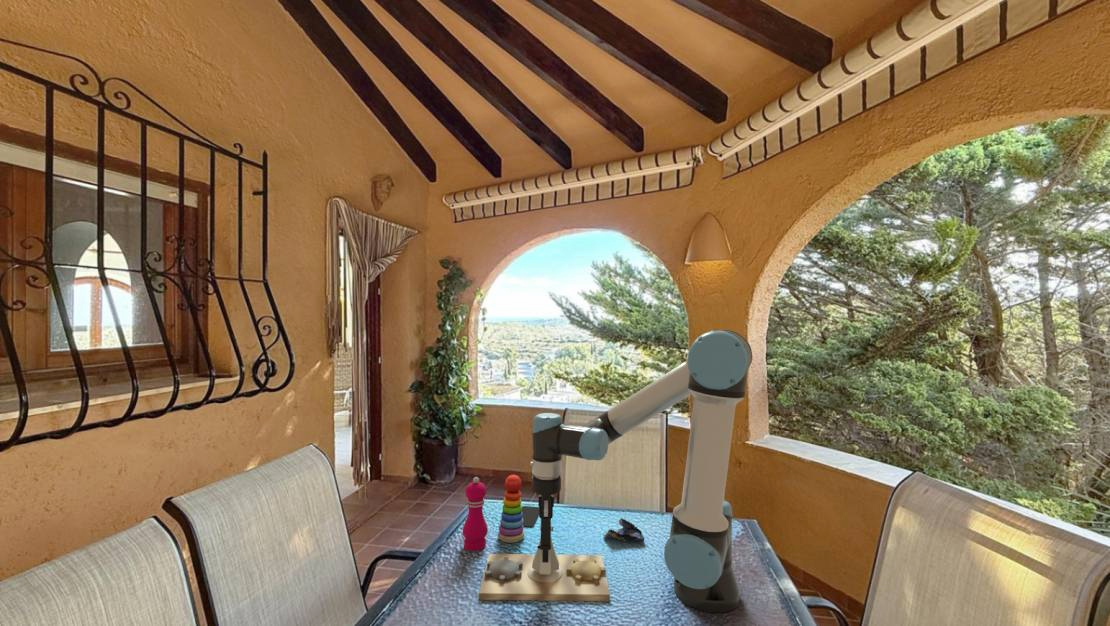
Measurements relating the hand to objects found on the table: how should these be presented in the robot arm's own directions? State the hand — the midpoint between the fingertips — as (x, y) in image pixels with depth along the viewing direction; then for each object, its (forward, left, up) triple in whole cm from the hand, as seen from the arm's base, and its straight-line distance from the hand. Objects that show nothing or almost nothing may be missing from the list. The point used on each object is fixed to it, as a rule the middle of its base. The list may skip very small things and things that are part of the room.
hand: (545, 565), depth 116 cm
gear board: (0, 0, -3) cm, 3 cm away
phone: (+31, -20, -4) cm, 37 cm away
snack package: (0, -33, -4) cm, 33 cm away
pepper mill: (+26, +4, -4) cm, 27 cm away
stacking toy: (+23, -7, -4) cm, 24 cm away
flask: (0, 0, -1) cm, 1 cm away
